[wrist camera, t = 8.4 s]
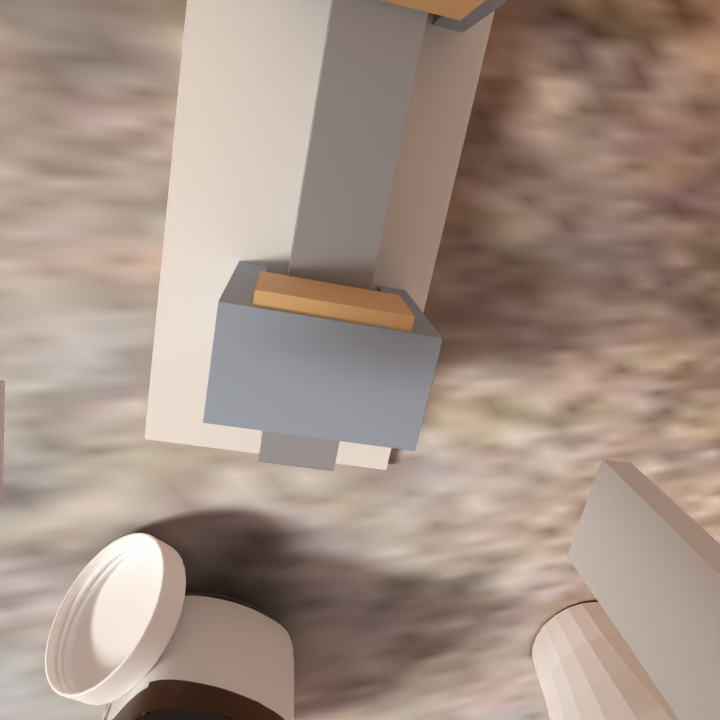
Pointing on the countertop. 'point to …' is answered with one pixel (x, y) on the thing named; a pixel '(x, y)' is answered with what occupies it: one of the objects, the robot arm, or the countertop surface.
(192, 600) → the spread jar
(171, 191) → the rail board
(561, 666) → the cup
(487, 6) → the fitted finger
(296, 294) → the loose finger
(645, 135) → the countertop surface
